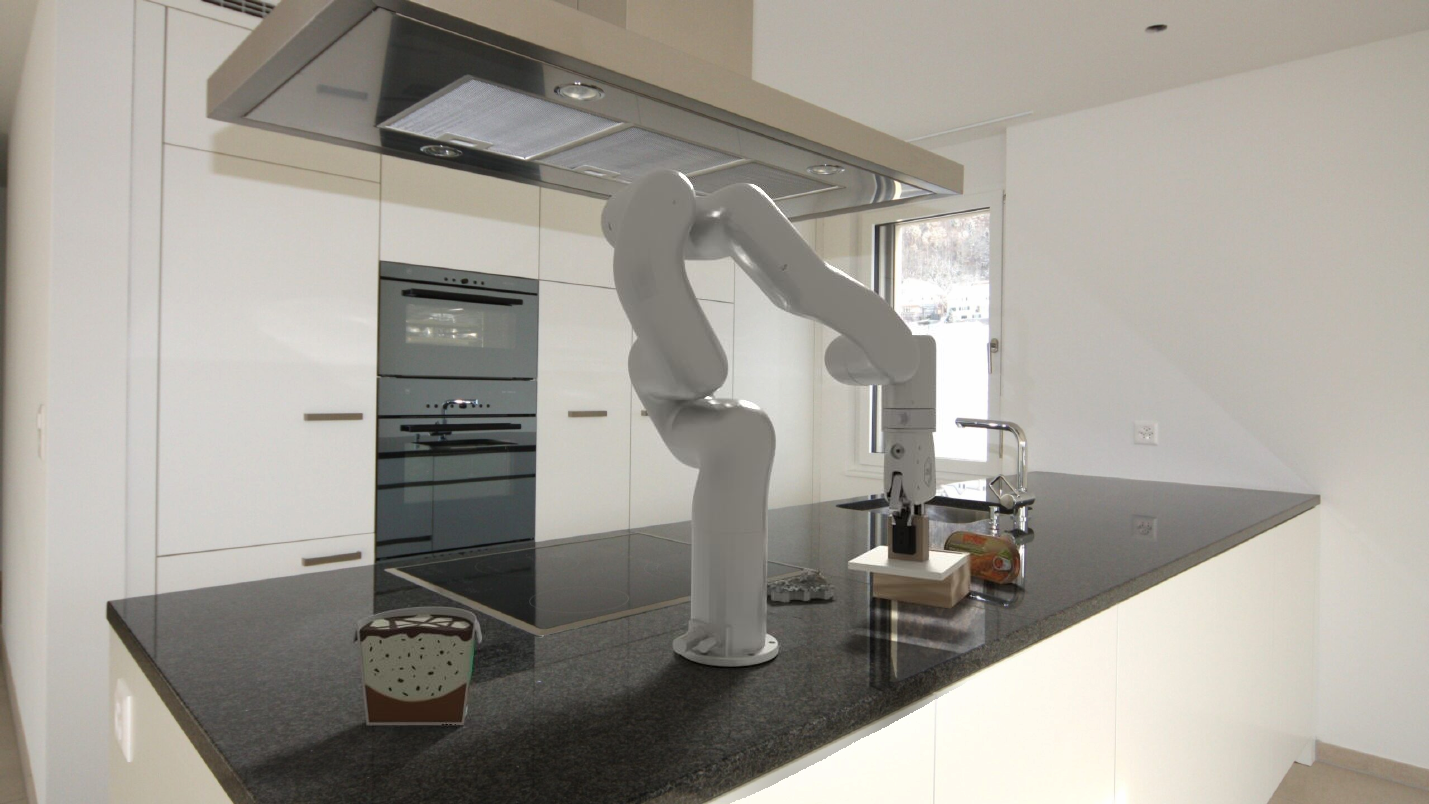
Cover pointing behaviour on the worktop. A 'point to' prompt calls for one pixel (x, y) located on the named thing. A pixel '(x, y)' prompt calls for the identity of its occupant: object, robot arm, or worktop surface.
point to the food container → (417, 665)
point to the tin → (987, 555)
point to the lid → (910, 557)
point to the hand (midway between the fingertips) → (908, 549)
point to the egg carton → (801, 588)
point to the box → (925, 586)
